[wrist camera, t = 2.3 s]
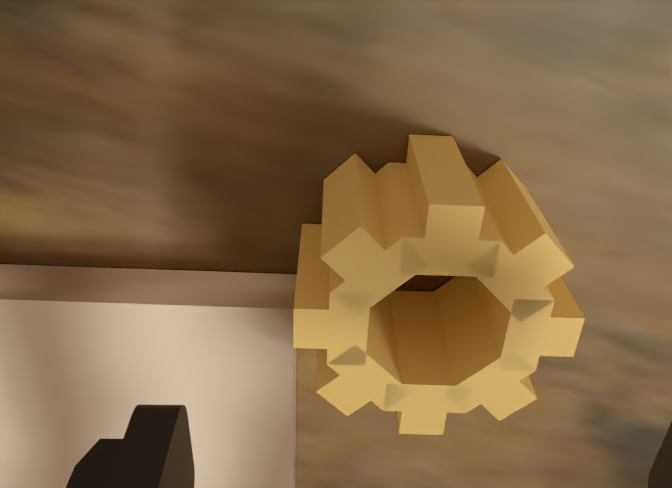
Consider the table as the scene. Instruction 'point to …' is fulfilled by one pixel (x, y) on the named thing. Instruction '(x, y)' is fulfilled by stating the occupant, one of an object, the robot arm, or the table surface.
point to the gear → (431, 307)
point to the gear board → (147, 368)
